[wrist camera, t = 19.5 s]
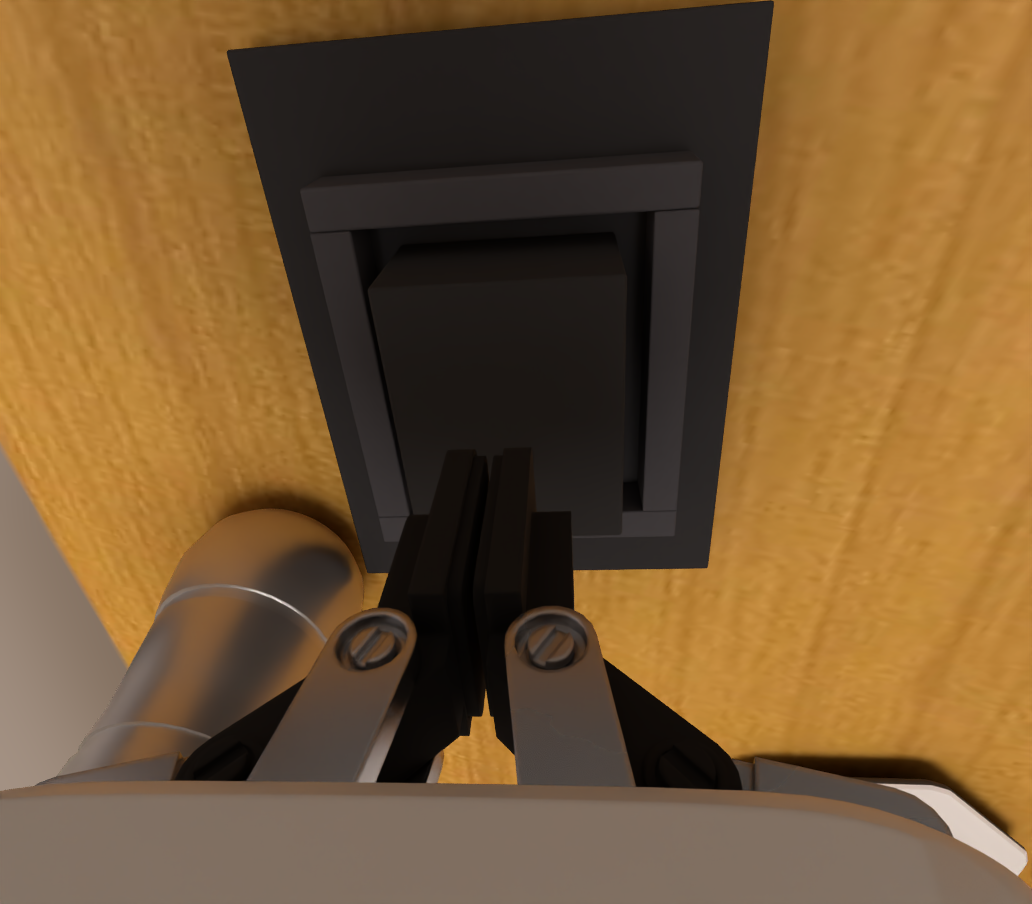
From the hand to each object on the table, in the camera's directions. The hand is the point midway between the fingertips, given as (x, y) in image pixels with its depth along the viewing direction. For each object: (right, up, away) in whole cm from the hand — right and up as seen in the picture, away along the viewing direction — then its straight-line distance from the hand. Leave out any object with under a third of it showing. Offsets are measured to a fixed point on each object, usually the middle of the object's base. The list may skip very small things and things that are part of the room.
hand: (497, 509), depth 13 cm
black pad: (0, +4, +5) cm, 6 cm away
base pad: (0, +4, +7) cm, 8 cm away
